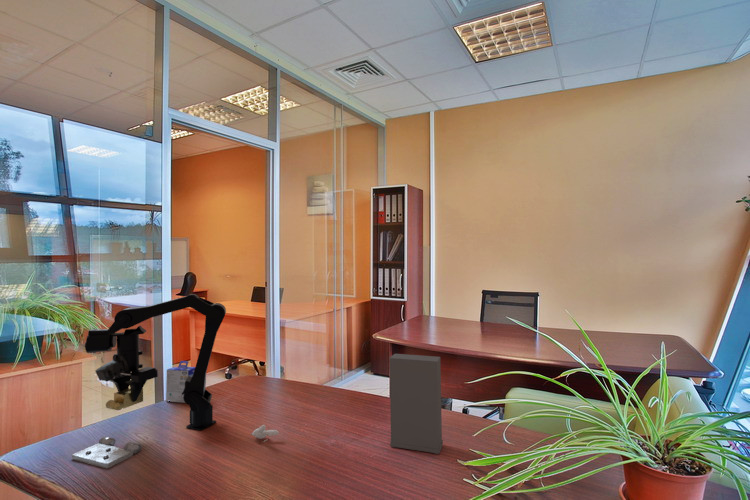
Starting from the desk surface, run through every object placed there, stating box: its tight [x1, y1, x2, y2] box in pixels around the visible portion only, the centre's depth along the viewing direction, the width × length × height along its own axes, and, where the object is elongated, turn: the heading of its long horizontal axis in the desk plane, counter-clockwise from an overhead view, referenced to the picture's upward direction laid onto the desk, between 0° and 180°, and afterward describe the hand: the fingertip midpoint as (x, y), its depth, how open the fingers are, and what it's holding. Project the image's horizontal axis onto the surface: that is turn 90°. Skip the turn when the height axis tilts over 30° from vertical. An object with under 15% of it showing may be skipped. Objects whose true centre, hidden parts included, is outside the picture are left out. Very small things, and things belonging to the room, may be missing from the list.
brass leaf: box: [105, 387, 144, 411], centre depth 115 cm, size 4×8×4 cm, turn 157°
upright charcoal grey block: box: [389, 353, 444, 455], centre depth 108 cm, size 14×6×25 cm, turn 71°
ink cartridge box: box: [165, 360, 196, 404], centre depth 146 cm, size 10×6×14 cm, turn 78°
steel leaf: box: [71, 436, 142, 470], centre depth 104 cm, size 14×9×2 cm
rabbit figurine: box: [250, 424, 280, 443], centre depth 112 cm, size 6×4×8 cm
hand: (128, 400), depth 116 cm, fingers closed on brass leaf, 4 cm apart
